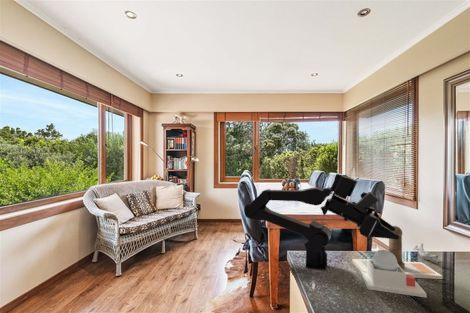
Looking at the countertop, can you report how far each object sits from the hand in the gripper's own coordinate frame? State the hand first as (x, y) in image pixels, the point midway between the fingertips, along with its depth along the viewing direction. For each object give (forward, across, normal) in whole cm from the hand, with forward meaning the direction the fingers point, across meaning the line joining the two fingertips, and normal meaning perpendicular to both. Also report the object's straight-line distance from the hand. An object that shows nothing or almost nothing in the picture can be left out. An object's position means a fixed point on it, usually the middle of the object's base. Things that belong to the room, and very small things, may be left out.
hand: (396, 233), depth 73 cm
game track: (+6, +9, +13) cm, 17 cm away
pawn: (+6, +9, +12) cm, 16 cm away
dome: (+1, -4, +11) cm, 12 cm away
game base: (+4, -4, +14) cm, 15 cm away
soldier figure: (+16, +25, +9) cm, 31 cm away
